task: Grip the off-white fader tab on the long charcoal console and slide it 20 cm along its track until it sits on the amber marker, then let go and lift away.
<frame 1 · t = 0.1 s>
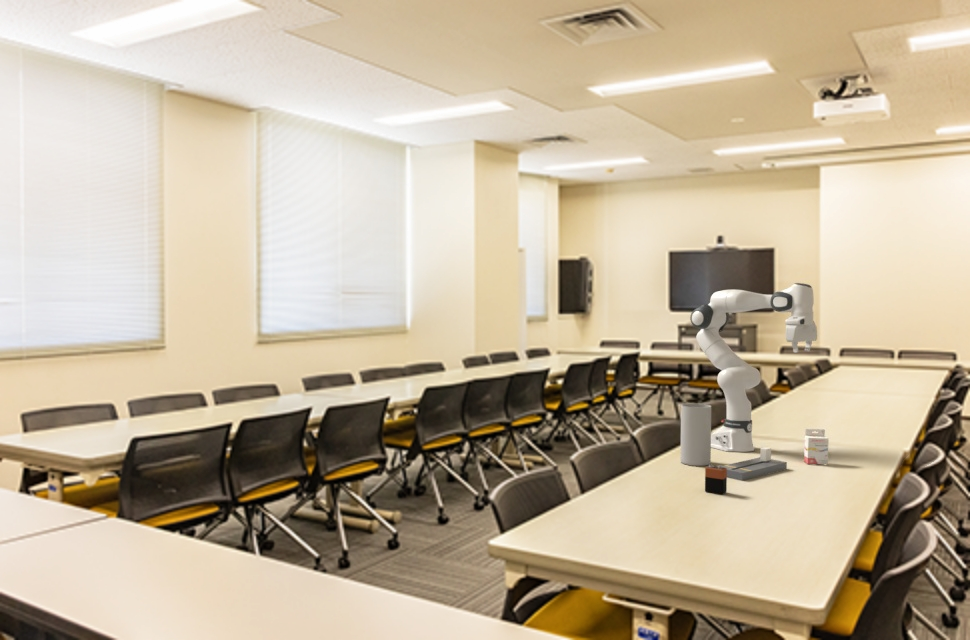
hand: (801, 351, 323), 48 cm above the table, tool pointing down, fingers open, 8 cm apart
cylinder vase: (695, 463, 319), on the table
console: (751, 471, 303), on the table
fader: (765, 456, 309), point 5 cm above the table, slide at 10.0 cm
ink cartridge box: (816, 464, 319), on the table
battery: (715, 492, 272), on the table
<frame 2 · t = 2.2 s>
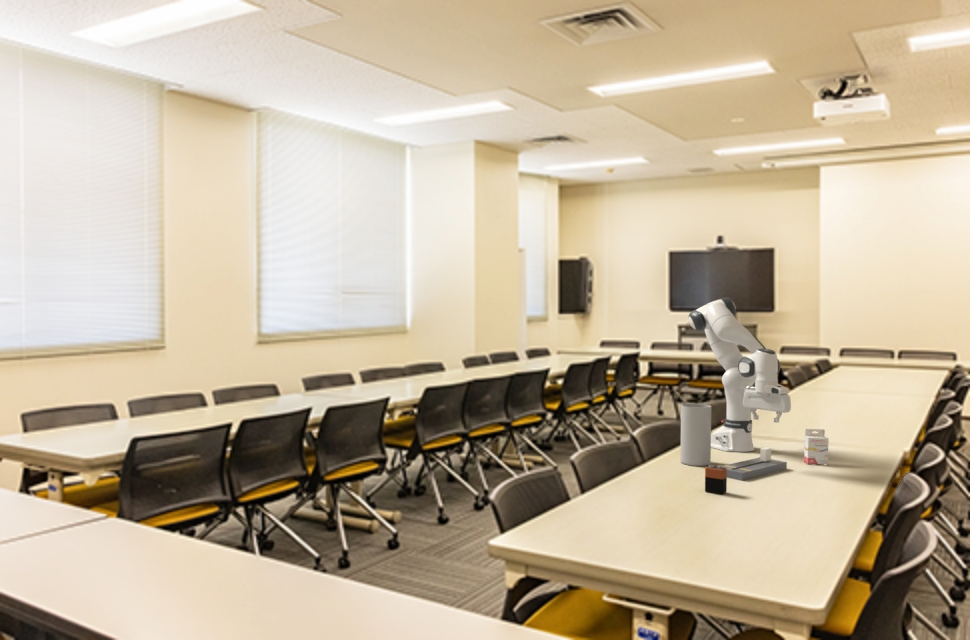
hand: (766, 420, 309), 20 cm above the table, tool pointing down, fingers open, 8 cm apart
nothing on the table moved.
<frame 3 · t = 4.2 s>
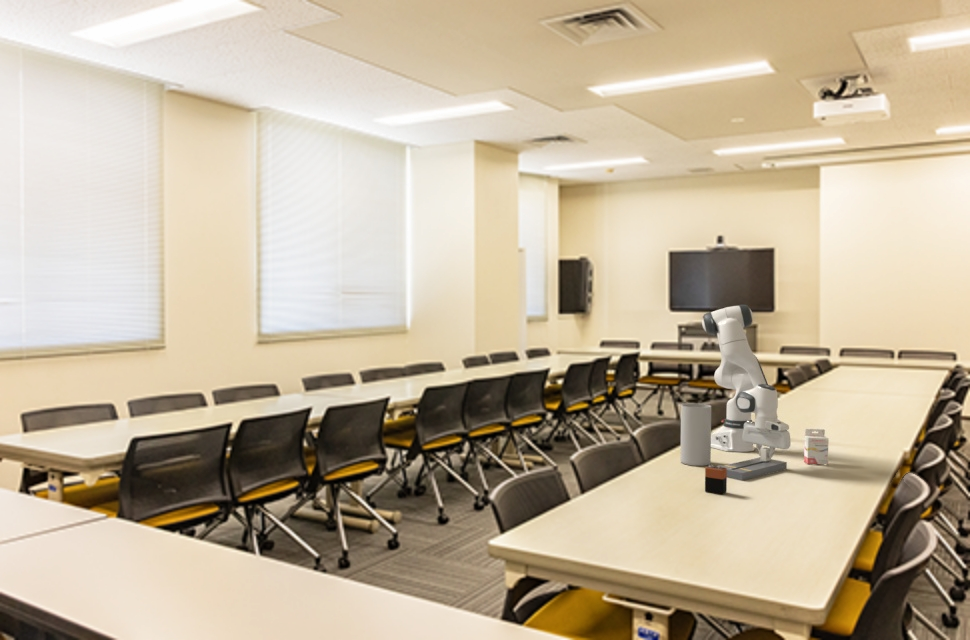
hand: (765, 456, 309), 5 cm above the table, tool pointing down, fingers closed on fader, 2 cm apart
fader: (765, 456, 309), point 5 cm above the table, slide at 10.0 cm, touching gripper
everything else where it was.
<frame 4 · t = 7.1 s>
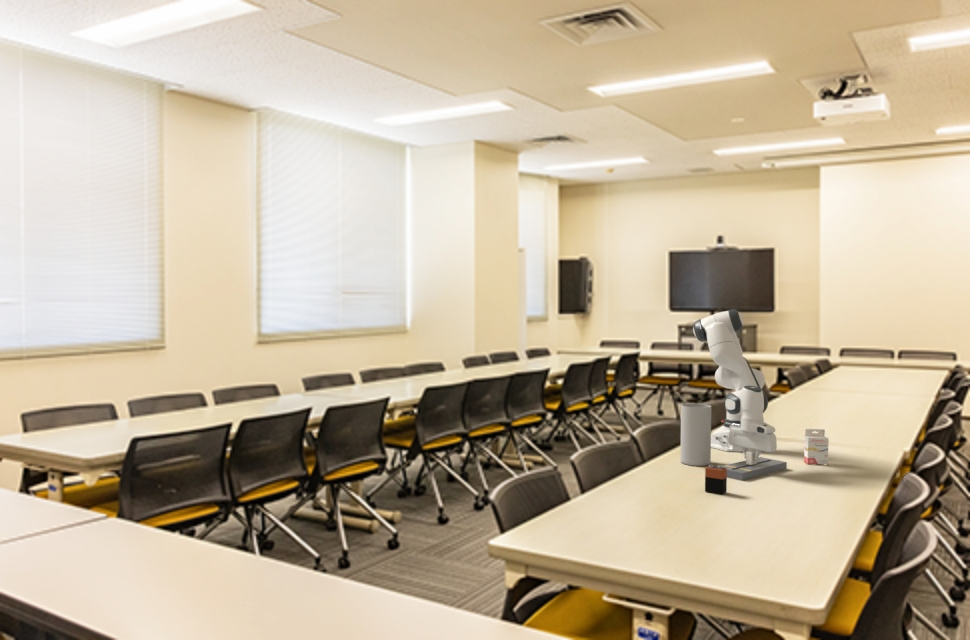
hand: (751, 459, 303), 5 cm above the table, tool pointing down, fingers closed on fader, 2 cm apart
fader: (751, 460, 303), point 5 cm above the table, slide at -0.4 cm, touching gripper
everything else where it was.
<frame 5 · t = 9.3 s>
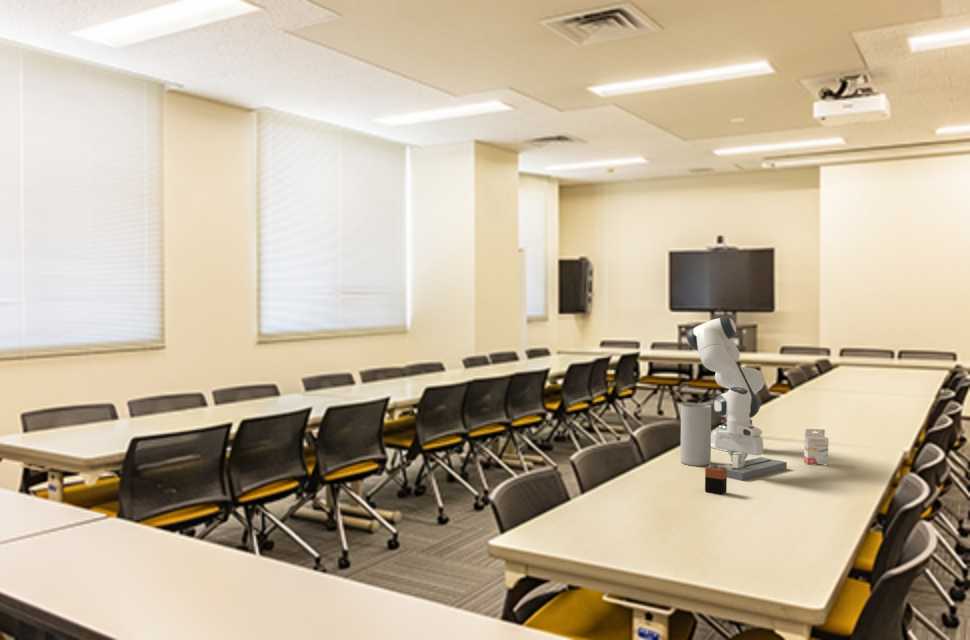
hand: (737, 462, 297), 5 cm above the table, tool pointing down, fingers closed on fader, 2 cm apart
fader: (737, 463, 297), point 5 cm above the table, slide at -9.9 cm, touching gripper
everything else where it was.
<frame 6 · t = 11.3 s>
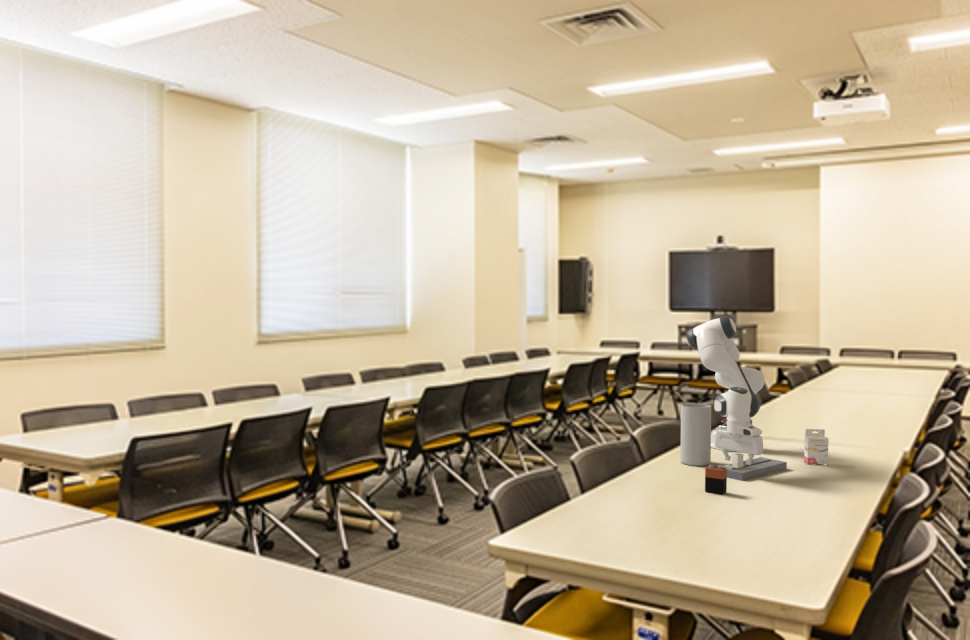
hand: (738, 462, 297), 5 cm above the table, tool pointing down, fingers open, 8 cm apart
fader: (737, 463, 297), point 5 cm above the table, slide at -10.0 cm
everything else where it was.
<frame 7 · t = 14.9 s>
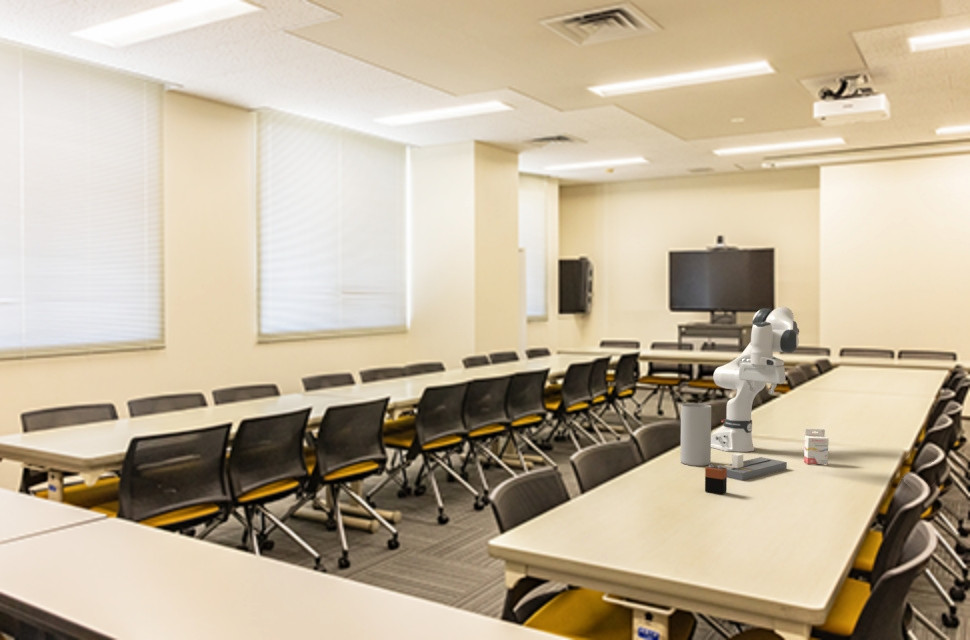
hand: (761, 392, 315), 31 cm above the table, tool pointing down, fingers open, 8 cm apart
nothing on the table moved.
at the end: fader slide at -10.0 cm; the gripper is holding nothing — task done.
